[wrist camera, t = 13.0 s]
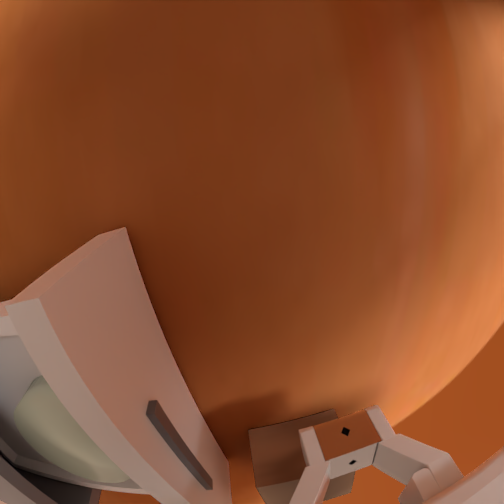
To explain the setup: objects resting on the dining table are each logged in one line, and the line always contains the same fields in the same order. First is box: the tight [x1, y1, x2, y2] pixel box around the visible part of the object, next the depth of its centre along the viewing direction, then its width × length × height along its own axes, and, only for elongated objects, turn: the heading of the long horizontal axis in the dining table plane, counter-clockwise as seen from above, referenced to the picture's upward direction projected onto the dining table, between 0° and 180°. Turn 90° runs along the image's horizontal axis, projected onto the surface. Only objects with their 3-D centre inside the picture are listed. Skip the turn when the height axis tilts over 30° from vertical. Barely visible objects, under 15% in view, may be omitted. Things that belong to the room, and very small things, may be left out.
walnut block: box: [248, 409, 355, 504], centre depth 13 cm, size 5×5×4 cm
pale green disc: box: [14, 375, 130, 483], centre depth 9 cm, size 6×6×2 cm
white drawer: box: [0, 227, 232, 504], centre depth 9 cm, size 18×16×6 cm
